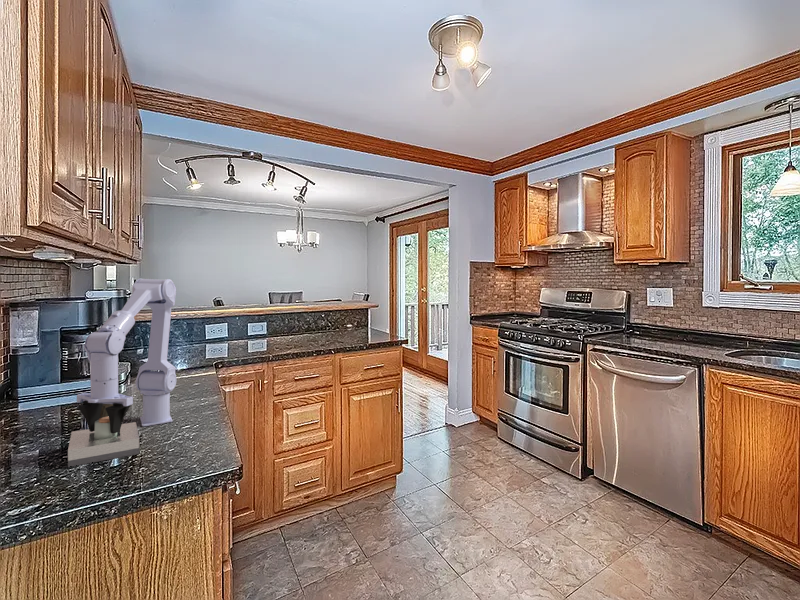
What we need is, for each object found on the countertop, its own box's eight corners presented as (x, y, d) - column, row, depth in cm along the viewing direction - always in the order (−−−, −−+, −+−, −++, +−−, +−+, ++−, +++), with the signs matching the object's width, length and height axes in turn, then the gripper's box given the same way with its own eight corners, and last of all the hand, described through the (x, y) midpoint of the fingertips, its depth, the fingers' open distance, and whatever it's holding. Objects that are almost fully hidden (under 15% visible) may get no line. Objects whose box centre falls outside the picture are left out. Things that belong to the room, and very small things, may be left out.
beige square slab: (71, 446, 107) (71, 431, 107) (135, 436, 115) (135, 422, 115) (68, 467, 95) (67, 450, 95) (139, 453, 104) (139, 438, 103)
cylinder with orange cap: (107, 439, 108) (107, 414, 108) (121, 442, 107) (122, 417, 107) (89, 445, 104) (90, 420, 103) (104, 449, 102) (105, 422, 102)
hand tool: (105, 405, 143) (105, 392, 142) (119, 404, 144) (119, 391, 144) (89, 423, 125) (89, 408, 125) (105, 421, 127) (105, 406, 127)
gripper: (64, 380, 102) (65, 434, 102) (116, 384, 99) (116, 439, 100) (90, 374, 109) (91, 425, 109) (139, 377, 106) (139, 429, 107)
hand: (104, 431), depth 105 cm, fingers open, 6 cm apart
